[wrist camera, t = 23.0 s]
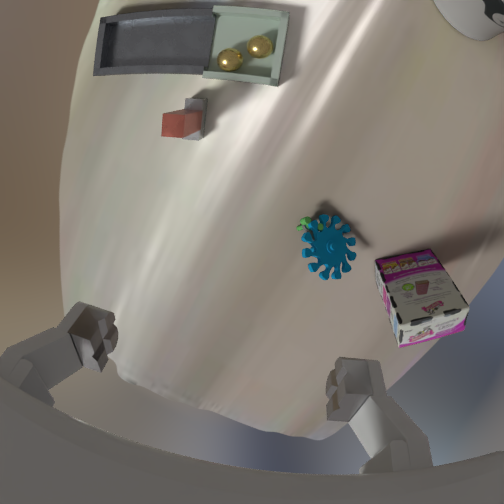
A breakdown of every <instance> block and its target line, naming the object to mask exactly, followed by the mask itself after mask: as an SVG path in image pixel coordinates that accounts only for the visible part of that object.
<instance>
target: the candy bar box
mask: <svg viewBox="0 0 504 504" xmlns="http://www.w3.org/2000/svg"><path fill="white" fill-rule="evenodd" d="M375 273H376V284H377V286H378V289H379V291H380V294H381V297H382V300H383V302H384V305H385V308H386V311H387V314H388V317H389V320H390V323H391V326H392V329H393V331H394V335H395V338H396V341H397V344H398V347H399V348H401V347H405V346H409V345H413V344H417V343H421V342H425V341H429V340H432V339H436V338H440V337H443V336H447V335H450V334H454V333H457V332H460V331H463V330H464V329H465V325H466V319H467V316H468V312H469V305H468V304H467V302H466V301H465V299H464V298H463V296H462V294H461V293H460V291H459V290H458V288H457V287H456V285H455V284H454V282H453V280H452V279H451V277H450V276H449V275H448V273H447V272H446V270H445V269H444V267H443V266H442V264H441V263H440V261H439V260H438V259H437V257H436V256H435V254H434V253H433V252H432V250H431V249H428V250H423V251H418V252H414V253H409V254H404V255H400V256H395V257H389V258H384V259H379V260H375Z"/></svg>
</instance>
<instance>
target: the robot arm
mask: <svg viewBox="0 0 504 504" xmlns="http://www.w3.org/2000/svg"><path fill="white" fill-rule="evenodd" d="M434 2H435V4H436V6H437V8H438V9H439V11H440V12H441V14H442V15H443V16H444V18H445V19H446V20H447V21H448V22H449V23H450V24H451V25H452V26H453V27H454V28H455V29H457V30H458V31H459V32H461V33H462V34H464V35H465V36H467V37H469V38H472V39H475V40H480V41H485V40H489V39H491V38H493V37H494V36H496V35H498V34H500V33H502V32H504V0H434ZM114 321H115V316H114V313H113V312H110V311H107V310H104V309H101V308H98V307H95V306H92V305H89V304H86V303H83V302H80V301H79V302H77V303H76V304H75V305H74V306H73V307H72V309H71V310H70V311H69V312H68V314H67V315H66V316H65V317H64V319H63V320H62V321H61V323H60V324H59V325H58V326H57V328H54V327H53V328H50V329H48V330H46V331H44V332H42V333H40V334H37V335H35V336H33V337H30V338H28V339H26V340H24V341H21V342H19V343H17V344H15V345H13V346H10V347H8V348H7V349H6V350H5V351H4V353H3V354H2V356H1V357H0V504H504V451H496V452H493V453H490V454H486V455H483V456H479V457H475V458H471V459H467V460H463V461H459V462H454V463H449V464H444V465H439V466H433V463H432V457H431V452H430V447H429V442H428V437H427V436H426V435H425V434H424V433H423V432H422V430H421V429H420V428H419V427H418V426H417V425H416V424H415V423H414V422H413V420H412V419H411V418H410V417H409V416H408V415H407V414H406V413H405V412H404V411H403V410H402V408H401V407H400V406H399V405H398V404H397V403H396V402H395V401H394V400H393V398H392V397H390V396H387V393H386V388H385V383H384V379H383V374H382V370H381V366H380V362H379V361H378V360H368V359H358V358H347V357H339V358H338V359H337V360H336V362H335V369H333V370H332V371H330V373H329V376H328V378H327V382H326V396H327V397H328V398H329V399H330V400H329V402H328V403H327V405H326V408H327V420H331V421H344V422H349V424H350V426H351V428H352V429H353V431H354V432H355V434H356V436H357V437H358V439H359V440H360V442H361V443H362V445H363V447H364V448H365V450H366V451H367V453H368V454H369V456H370V457H371V460H369V461H368V462H367V463H365V464H364V465H363V466H362V467H361V468H359V474H350V475H321V474H318V475H317V474H298V473H284V472H274V471H264V470H256V469H248V468H242V467H236V466H230V465H223V464H219V463H214V462H209V461H204V460H199V459H195V458H191V457H187V456H183V455H179V454H175V453H171V452H167V451H163V450H161V449H157V448H153V447H150V446H147V445H144V444H141V443H138V442H135V441H132V440H129V439H126V438H124V437H120V436H118V435H115V434H113V433H110V432H107V431H105V430H102V429H100V428H98V427H95V426H93V425H90V424H88V423H85V422H83V421H81V420H79V419H77V418H75V417H72V416H70V415H68V414H66V413H64V412H62V411H60V410H58V409H56V408H54V407H53V405H54V403H55V401H54V398H53V397H52V395H51V394H50V393H49V391H48V390H49V389H51V388H52V387H54V386H55V385H57V384H58V383H60V382H61V381H63V380H64V379H66V378H67V377H69V376H70V375H72V374H73V373H75V372H76V371H78V370H79V369H81V368H82V366H84V367H86V368H89V369H92V370H95V371H98V372H102V370H103V369H104V367H105V365H106V363H107V361H108V356H107V354H109V353H111V352H113V351H114V349H115V347H116V345H117V341H118V329H117V327H116V326H115V325H114V324H113V323H114Z"/></svg>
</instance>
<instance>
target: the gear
mask: <svg viewBox="0 0 504 504" xmlns="http://www.w3.org/2000/svg"><path fill="white" fill-rule="evenodd" d="M319 220H320V223H319V224H318V222H317V220H313V221H311V218H310V217H308V216H307V217H304V218H302V219H301V220H300V222H301V224H302V225H300V226H297V230H298V231H299V230H304V231H305V232H306V233H304V234H303V236H302V238H301V239H302V241H304V242H308V243H309V244H311V246H312V247H311V248H310V249H309V248H305V249H303V250H302V257H304V258H307V257H310V256H314V257H316V258H317V259H318V263H310V264H308V267H309V270H310V271H311V272H316V271H317V270H318V268H319V267H320V266H321V265H323V264H324V265H325V267H326V269H325V270H324V271H322V272H320V273H319V277H320V278H321V279H323V280H328V278H329V273H330V270H331V268H332V267H333V266H334V268H335V270H334V272H333V273H332V275H331V277H332V279H341V273H340V264H341V262H342V272H343V273H346V272H349V271H350V270H351V266H350V265H349V264H348V262H347V260H346V256H345V254H347V258H348V260H350V261H352V260H354V259H355V258H356V253H355V252H352V251H350V250H349V249H348V248H347V246H346V243H347V244H348V245H349V246H354V245H355V243H356V241H355V238H354V237H352V238H348V239H347V238H345V237H343V235H342V232H343V233H347V232H350V227H349V225H348V224H345V225H342V227H341V228H340V229H339V230H336V229H335V225H336V224H338V223H340V222H341V219H340V218H339V217H338V216H337V215H335V216H332V218H331V224H330V226H329V227H328V228H327V227H326V222H327V221H328V220H329V216H328V215H325V214H322V215H319ZM319 231H320V232H319Z"/></svg>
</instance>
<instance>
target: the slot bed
mask: <svg viewBox="0 0 504 504" xmlns="http://www.w3.org/2000/svg"><path fill="white" fill-rule="evenodd" d="M216 17H217V15H216V14H214V13H213V9H168V10H154V11H144V12H135V13H127V14H120V15H113V16H107V17H102V18H101V19H100V25H99V31H98V38H97V45H96V53H95V61H94V72H93V76H105V75H121V74H195V75H203V71H208V68H209V61H210V54H211V47H212V41H213V35H214V28H215V22H216Z"/></svg>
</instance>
